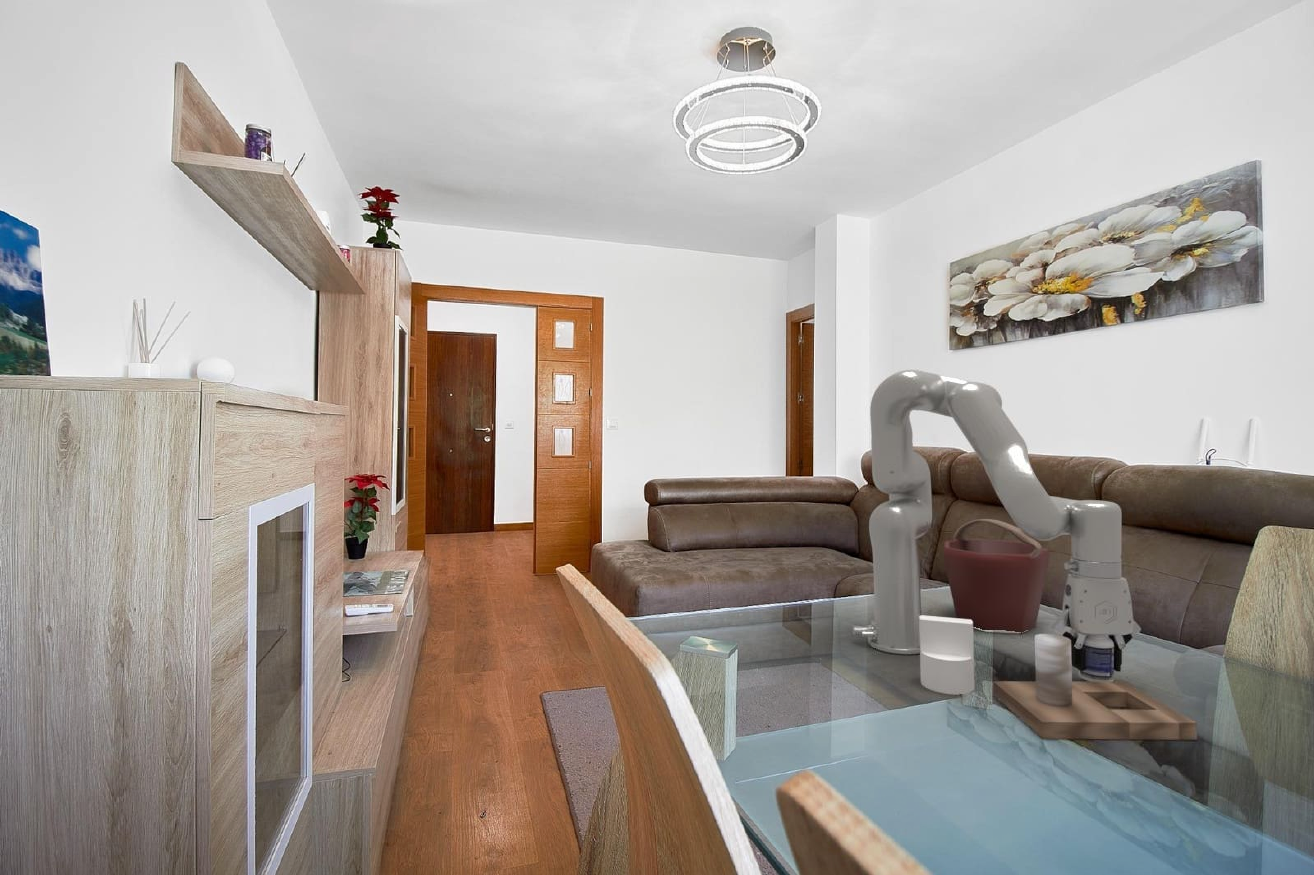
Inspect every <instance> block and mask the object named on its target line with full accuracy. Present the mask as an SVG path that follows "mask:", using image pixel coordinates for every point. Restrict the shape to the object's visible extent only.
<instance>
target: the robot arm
mask: <svg viewBox="0 0 1314 875" xmlns="http://www.w3.org/2000/svg"><path fill="white" fill-rule="evenodd" d="M1002 407H1003V399H1002V396H1001V395H1000V393H999V391H998V389H996V388H994V387H993V386H992V385H990V384H987V383H982V382H977V381H969V380H964V379H958V378H956V377H955V378H954V377H950V376H946V375H942V374H937V373H933V372H927V371H922V370H917V369H905V370H900V371H898V372H895V373H893V374H891V375H890V376H888V377H887V378H885V379H884V380H883V381H882V382H881V383H879V385H878V386H877V388H876V389H875V391H874V393H873V395H872V398H871V400H870V409H869V411H870V412H869V414H870V433H871V439H870V440H871V441H870V442H871V443H870V444H871V472H872V480H873V484H874V486H875V487H876V488H877V489H878V490H879V491H880V492H882V493H884V494H887V495H888V498H889V500H888V501H885V502H882V503H881V504H879V505H878V506H877V507H876V508H875V509H874V510H873V511H872V513H871V514H870V517H869V520H868V521H869V522H868V523H869V524H868V529H869V530H868V532H869V538H870V543H871V550H872V551H871V552H872V562H873V564H872V565H873V566H872V567H873V568H872V569H873V570H872V571H873V593H874V594H873V595H874V598H873V599H874V600H873V601H874V605H873V606H874V620H871V621H870V624H867V625H866V626H862V625H853V626H852V634H853V636H861V638H867V643H868V645H869V644H870V645H871V646H870V645H869V646H870V647H872V648H873V649H875V648H876V649H875V650H878V651H881V652H884V653H889V654H895V655H896V654H898V655H918V654H920V631H919V617H920V616H921V615H922V602H921V601H922V600H921V595H922V594H921V566H920V565H921V564H920V556H919V555H920V554H919V550H918V545H917V539H918V538H921V537H922V536H924V535H925V534H927V532H928V531H929V530H930V528H931V526H932V522H933V502H932V481H931V470H930V467H929V464H928V462H927V461H926V459H925V458H924V457H923V456H922V455H921V454H920V453H918V452H917V451H914V445H913V444H914V443H913V442H914V441H913V428H912V427H913V426H912V424H911V420H910V419H911V418H910V414H911V412H912V411H923V412H929V413H931V414H932V413H933V414H937V415H942V416H944V417H949V418H953V421H954V422H955V423H956V425H957V427H958V428H959V429H960V431H961V432H962V434H963V436H964V437H965V439H966V440H967V441H968V443H969V445H970V447H971V448H972V449H973V451H974V453H975V454H976V456H978V458H979V459H980V461H981V463H982V465H983V467H984V470H985V473H986V475H987V477H988V478H989V481H990V483H991V485H992V488H993V489H994V492H995V493H996V496H997V497H998V499H999V500H1000V502H1001V504H1002V506H1003V507H1004V509H1005V510H1006V511H1007V513H1008V514H1009V516H1010V517H1011V519H1012V521H1013V522H1014V523H1015V525H1016V526H1017V528H1019V529H1020V530H1021V531H1022V532H1023V533H1024V534H1025V535H1027V536H1028V537H1030V538H1032V539H1034V540H1035V541H1040V542H1048V541H1050V540H1054V539H1055V538H1058V537H1060V536H1063V535H1064V536H1065V535H1068V536H1069V535H1070V536H1071V537H1070V538H1071V540H1070V541H1071V544H1070V547H1071V548H1070V551H1071V552H1070V553H1071V555H1070V558H1069V559H1070V560H1069V561H1068V562H1064V564H1063V566H1064V570H1066V571H1069V572H1070V573H1068V574H1067V577H1066V580H1065V584H1064V589H1063V597H1062V606H1061V608H1062V609H1061V613H1060V615H1059V616H1058V617H1056V619H1055V620H1054V621H1053V622H1052V623H1051V625H1050V627H1051V628H1052V630H1054V631H1055V633H1057V634H1058V635H1059V636H1063V637H1066V638H1069V639H1070V640H1071V662H1072V667H1074V668H1075V669H1077V671H1078V670H1080V671H1084V670H1085V649H1083V648H1082V645H1083V642H1084V639H1085V637H1086V635H1108V638H1110V639H1111V640H1112V641H1113V643H1114V672H1117V673H1118V672H1122V669H1121V668H1122V664H1123V650H1125V649H1126V645H1127V644H1128V643H1130V641H1132V639H1133V637H1135V636H1137V634H1139V633H1140V632H1141V631H1142V628H1141V626H1140V625H1139V624H1138V623H1137V622H1136V621H1135V620H1134V616H1133V606H1132V605H1133V604H1132V597H1131V592H1130V587H1129V583H1128V580H1127V578H1125V577H1123V576H1122V525H1123V523H1122V508H1121V506H1120V505H1119V504H1117V503H1115V502H1113V501H1108V500H1095V499H1084V500H1082V499H1081V500H1078V499H1071V498H1070V499H1069V498H1066V497H1065V498H1063V497H1060V496H1051V495H1049V494H1048V492H1047V491H1046V490H1045V488H1044V486H1043V485H1042V484H1041V482H1040V481H1039V479H1038V477H1037V476H1036V474H1035V472H1034V469H1033V468H1032V464H1031V462H1030V459H1029V450H1028V447H1027V446H1028V445H1027V443H1026V441H1025V439H1024V438H1023V436H1022V435H1021V434H1020V432H1019V431H1018V430H1017V428H1016V427H1015V425H1014V424H1013V423H1012V421H1011V419H1010V418H1009V417H1008V416H1007V414H1006V413H1005V411H1004V410H1003V408H1002ZM1065 627H1067V628H1070V629H1069V631H1067V629H1065Z"/></svg>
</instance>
